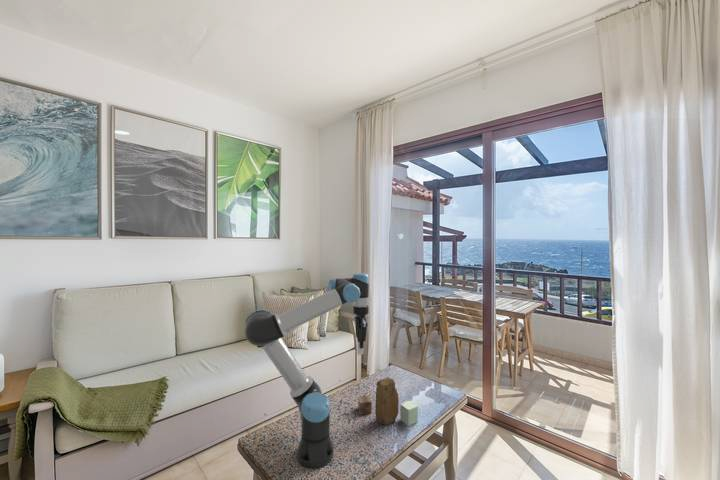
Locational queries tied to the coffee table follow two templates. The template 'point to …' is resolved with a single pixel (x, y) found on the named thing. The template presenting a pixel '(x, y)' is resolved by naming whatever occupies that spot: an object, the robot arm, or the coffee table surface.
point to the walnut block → (364, 404)
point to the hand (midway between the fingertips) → (360, 353)
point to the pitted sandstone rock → (386, 401)
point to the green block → (409, 413)
